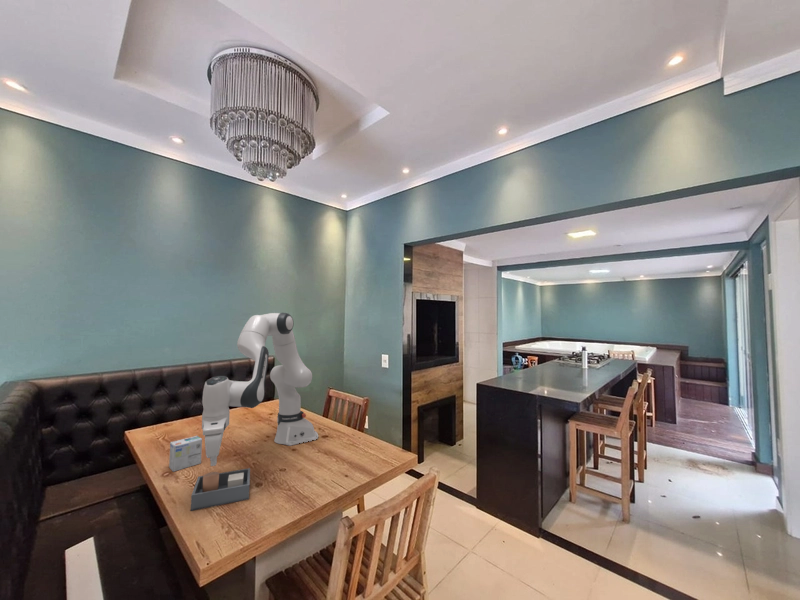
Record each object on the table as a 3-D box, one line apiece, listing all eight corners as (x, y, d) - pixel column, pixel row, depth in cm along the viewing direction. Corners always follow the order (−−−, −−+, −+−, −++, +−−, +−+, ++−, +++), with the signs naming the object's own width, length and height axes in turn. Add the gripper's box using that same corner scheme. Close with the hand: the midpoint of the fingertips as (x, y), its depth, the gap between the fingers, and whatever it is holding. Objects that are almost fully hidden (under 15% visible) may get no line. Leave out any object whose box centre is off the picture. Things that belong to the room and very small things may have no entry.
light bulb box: (196, 459, 142) (197, 434, 143) (201, 463, 138) (203, 438, 139) (168, 467, 134) (169, 441, 135) (172, 472, 130) (174, 445, 131)
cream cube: (228, 488, 117) (228, 474, 118) (243, 485, 119) (243, 472, 120) (227, 495, 113) (227, 481, 113) (242, 492, 115) (243, 478, 115)
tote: (249, 481, 124) (250, 468, 124) (248, 499, 112) (249, 484, 112) (197, 490, 117) (198, 476, 117) (190, 511, 104) (191, 495, 105)
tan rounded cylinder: (203, 493, 114) (204, 473, 114) (218, 490, 116) (219, 470, 117) (201, 500, 109) (202, 479, 110) (217, 497, 112) (218, 476, 112)
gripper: (209, 414, 124) (208, 449, 124) (202, 432, 106) (201, 474, 105) (227, 412, 127) (226, 446, 126) (223, 429, 108) (222, 470, 108)
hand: (215, 459), depth 116 cm, fingers open, 8 cm apart
